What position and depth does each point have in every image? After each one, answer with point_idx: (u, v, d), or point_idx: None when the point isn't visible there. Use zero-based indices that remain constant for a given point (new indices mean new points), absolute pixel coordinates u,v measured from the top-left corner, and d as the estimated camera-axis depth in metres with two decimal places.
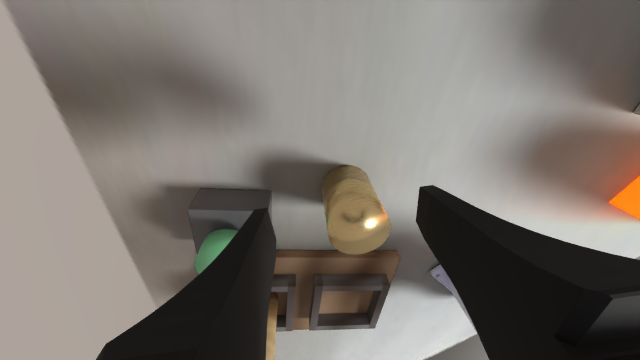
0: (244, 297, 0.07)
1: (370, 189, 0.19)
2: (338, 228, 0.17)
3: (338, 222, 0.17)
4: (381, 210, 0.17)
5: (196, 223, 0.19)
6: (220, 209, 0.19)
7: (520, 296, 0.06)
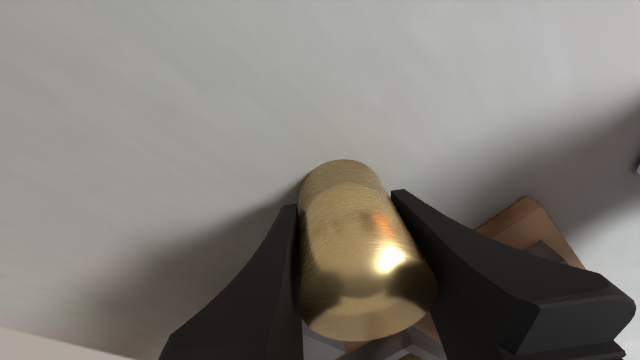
0: (288, 291, 0.07)
1: (339, 201, 0.09)
2: (327, 323, 0.08)
3: (315, 318, 0.08)
4: (357, 252, 0.07)
5: None
6: None
7: (469, 303, 0.06)
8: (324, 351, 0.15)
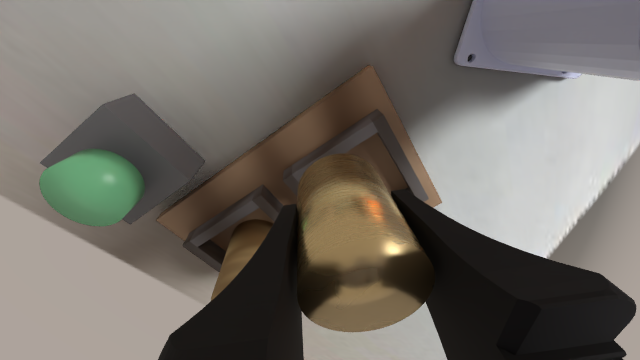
0: (288, 291, 0.07)
1: (331, 194, 0.09)
2: (328, 315, 0.08)
3: (315, 310, 0.08)
4: (346, 241, 0.07)
5: None
6: (64, 140, 0.14)
7: (470, 303, 0.06)
8: (168, 173, 0.16)
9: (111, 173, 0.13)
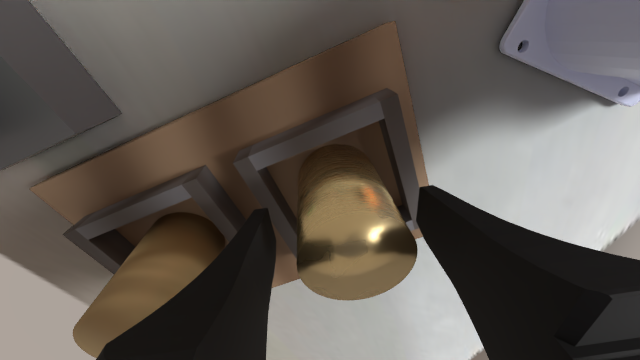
0: (244, 297, 0.07)
1: (327, 179, 0.10)
2: (324, 284, 0.09)
3: (312, 279, 0.09)
4: (338, 216, 0.08)
5: None
6: None
7: (520, 296, 0.06)
8: (35, 112, 0.09)
9: None
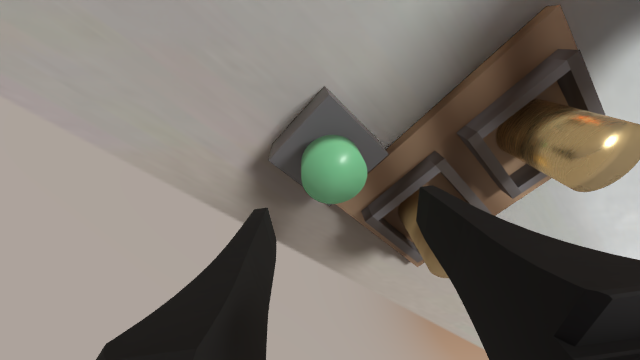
0: (244, 297, 0.07)
1: (550, 122, 0.16)
2: (582, 182, 0.15)
3: (574, 181, 0.15)
4: (593, 134, 0.14)
5: (287, 167, 0.17)
6: (290, 135, 0.16)
7: (520, 296, 0.06)
8: (371, 150, 0.17)
9: (357, 151, 0.14)
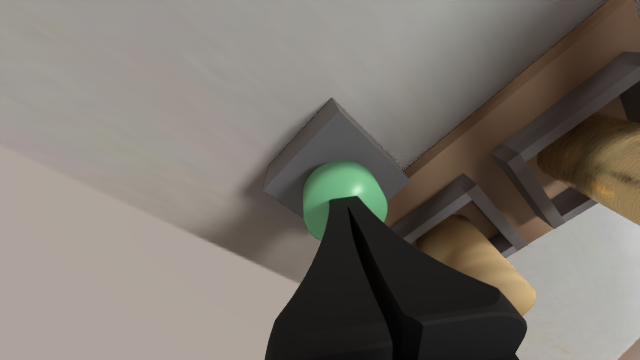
0: None
1: (619, 144, 0.12)
2: None
3: None
4: None
5: (286, 198, 0.14)
6: (289, 161, 0.13)
7: (386, 315, 0.06)
8: (389, 177, 0.14)
9: (375, 183, 0.11)
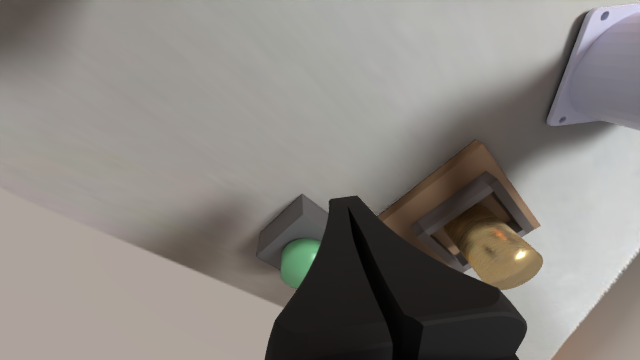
0: None
1: (476, 233, 0.20)
2: (498, 284, 0.19)
3: (491, 284, 0.19)
4: (500, 256, 0.18)
5: (271, 260, 0.22)
6: (273, 240, 0.21)
7: (386, 315, 0.06)
8: None
9: None
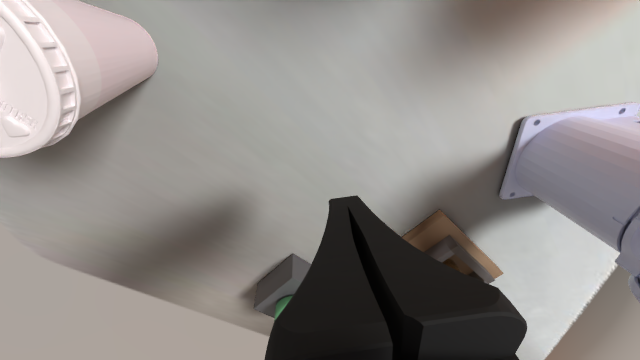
0: None
1: None
2: None
3: None
4: None
5: (267, 311, 0.25)
6: (268, 296, 0.24)
7: (386, 315, 0.06)
8: None
9: None
